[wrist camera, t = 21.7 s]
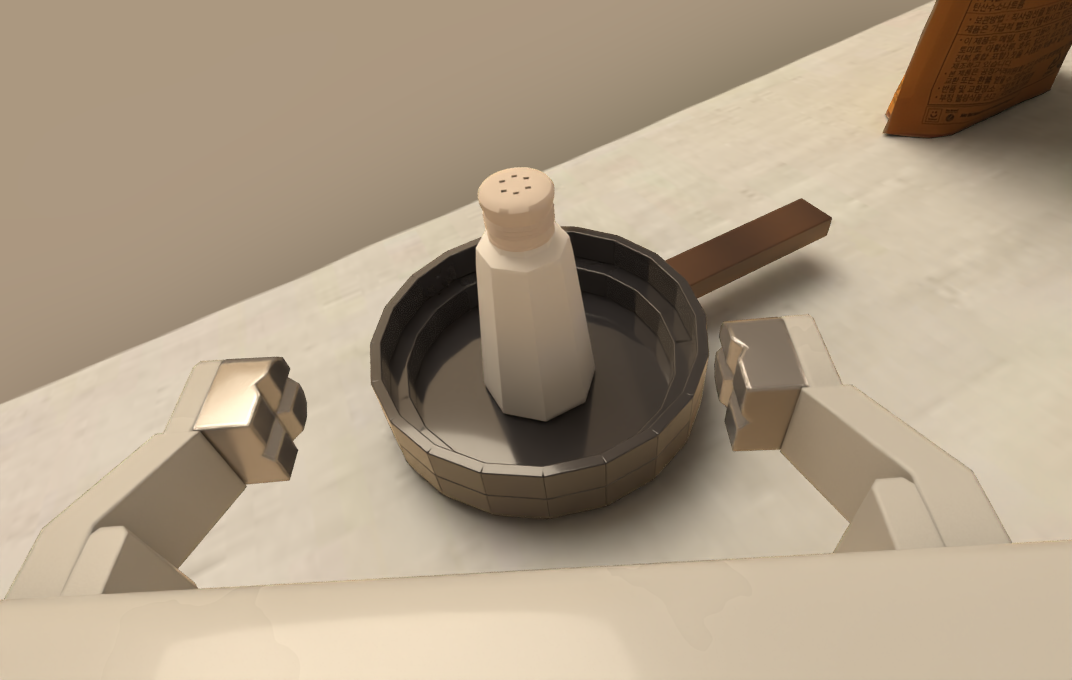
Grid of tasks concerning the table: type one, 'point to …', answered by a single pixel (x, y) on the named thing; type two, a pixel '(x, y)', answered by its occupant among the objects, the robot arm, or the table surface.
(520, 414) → the pepper shaker
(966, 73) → the pancake mix bag
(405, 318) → the pan
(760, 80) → the table surface
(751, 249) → the pan handle
